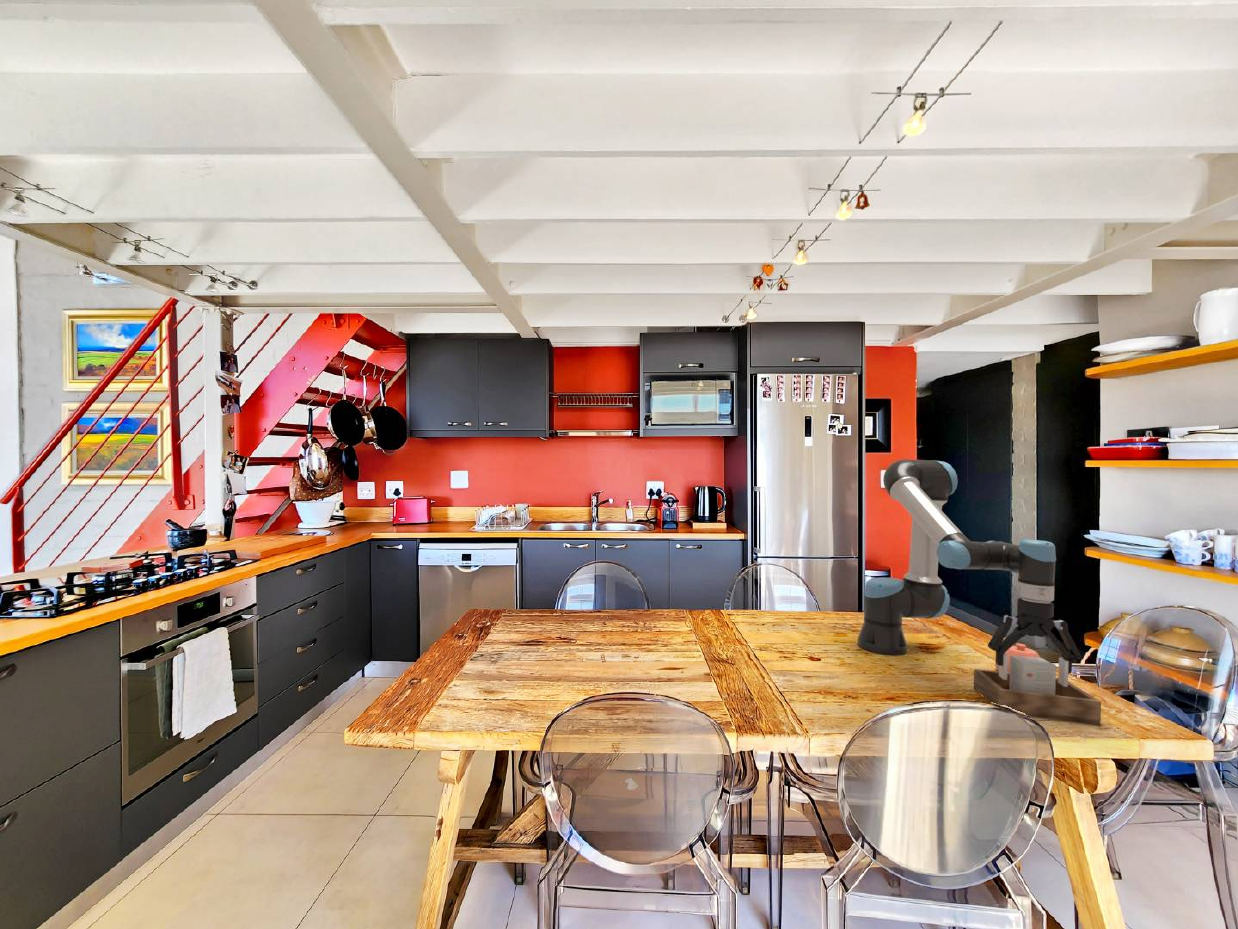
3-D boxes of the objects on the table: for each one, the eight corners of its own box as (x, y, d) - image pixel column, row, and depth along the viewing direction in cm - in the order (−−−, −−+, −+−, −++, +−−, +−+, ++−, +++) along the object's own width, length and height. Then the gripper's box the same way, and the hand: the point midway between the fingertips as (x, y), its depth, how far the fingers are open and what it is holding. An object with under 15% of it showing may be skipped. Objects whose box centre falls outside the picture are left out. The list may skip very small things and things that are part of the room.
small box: (1041, 697, 140) (1042, 657, 140) (1055, 707, 134) (1056, 665, 135) (1008, 695, 141) (1009, 655, 141) (1021, 703, 136) (1022, 662, 136)
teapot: (1012, 684, 153) (1013, 651, 153) (981, 662, 170) (982, 633, 170) (1059, 689, 150) (1060, 655, 150) (1024, 666, 168) (1024, 636, 168)
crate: (999, 712, 133) (1000, 690, 133) (973, 688, 148) (974, 668, 148) (1100, 725, 128) (1101, 702, 128) (1062, 699, 143) (1063, 678, 143)
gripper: (987, 598, 137) (984, 680, 137) (1101, 608, 132) (1098, 693, 132) (975, 592, 145) (972, 670, 144) (1082, 601, 139) (1079, 682, 139)
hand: (1032, 681), depth 138 cm, fingers open, 13 cm apart
